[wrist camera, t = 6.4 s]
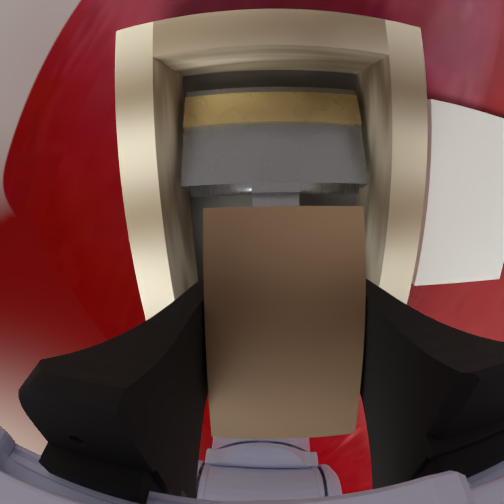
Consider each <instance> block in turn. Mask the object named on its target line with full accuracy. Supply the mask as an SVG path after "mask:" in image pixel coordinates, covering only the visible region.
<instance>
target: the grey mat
mask: <svg viewBox="0 0 504 504" xmlns="http://www.w3.org/2000/svg"><path fill="white" fill-rule="evenodd" d="M427 114H428V140H427V167H426V183H425V195H424V205H423V214H422V223H421V230H420V237H419V244H418V250H417V256H416V262H415V268H414V273H413V278H412V283H413V285H414V286H418V285H433V284H447V283H459V282H471V281H482V280H493V279H499V278H500V274H501V271H502V267H503V263H504V118H501V117H497V116H494V115H491V114H488V113H485V112H481V111H478V110H474V109H471V108H467V107H463V106H459V105H455V104H451V103H447V102H443V101H438V100H434V99H427Z"/></svg>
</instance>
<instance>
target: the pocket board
mask: <svg viewBox="0 0 504 504" xmlns="http://www.w3.org/2000/svg"><path fill="white" fill-rule="evenodd" d="M246 87H316V88H334V89H347V90H355V95H357V99H358V105H359V111H360V117H361V123H362V125H361V131H362V138H363V146H364V153H365V162H366V171H367V181H368V184H367V185H366V186H365V187H363V188H359V193H358V195H334V194H299V205H300V206H364V223H365V251H366V279H368V280H369V281H371V282H373V283H374V284H376V285H377V286H379V287H380V288H382V289H383V290H385V291H386V292H388V293H389V294H391V295H392V296H394V297H395V298H397V299H398V300H400V301H401V302H403V303H405V304H406V305H407V301H408V297H409V292H410V288H411V283H412V278H413V273H414V268H415V262H416V256H417V250H418V244H419V237H420V230H421V223H422V214H423V205H424V195H425V183H426V167H427V140H428V114H427V87H426V73H425V61H424V52H423V43H422V36H421V29H420V28H419V27H415V26H412V25H408V24H403V23H399V22H395V21H390V20H385V19H380V18H375V17H369V16H363V15H356V14H349V13H341V12H331V11H320V10H305V9H245V10H230V11H218V12H209V13H201V14H194V15H187V16H181V17H175V18H169V19H164V20H159V21H154V22H150V23H145V24H141V25H137V26H133V27H129V28H125V29H122V30H118V31H116V48H115V103H116V126H117V142H118V154H119V165H120V175H121V184H122V193H123V201H124V208H125V215H126V222H127V228H128V235H129V241H130V246H131V252H132V257H133V263H134V268H135V273H136V278H137V283H138V287H139V292H140V296H141V301H142V305H143V309H144V314H145V318H146V321H147V320H148V319H150V318H151V317H153V316H154V315H156V314H157V313H158V312H160V311H161V310H162V309H164V308H165V307H167V306H168V305H169V304H171V303H172V302H173V301H174V300H176V299H177V298H178V297H179V296H181V295H182V294H183V293H184V292H185V291H187V290H188V289H189V288H190V287H191V286H193V285H194V284H195V283H196V282H198V281H199V280H200V279H204V276H203V208H219V207H252V195H235V196H209V197H191V194H190V191H185V190H184V189H183V188H182V187H181V170H182V150H183V134H184V127H183V120H184V108H185V97H186V96H187V92H194V91H204V90H215V89H228V88H246Z"/></svg>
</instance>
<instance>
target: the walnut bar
mask: <svg viewBox="0 0 504 504" xmlns="http://www.w3.org/2000/svg"><path fill="white" fill-rule="evenodd" d="M203 276H204V314H205V340H206V361H207V379H208V394H209V409H210V422H211V434H212V437H217V438H236V439H289V438H309V437H322V436H333V435H343V434H351V433H355V427H356V420H357V413H358V404H359V396H360V386H361V376H362V364H363V350H364V333H365V305H366V251H365V223H364V206H255V207H219V208H203Z"/></svg>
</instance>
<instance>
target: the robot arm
mask: <svg viewBox="0 0 504 504" xmlns="http://www.w3.org/2000/svg"><path fill="white" fill-rule="evenodd" d="M207 394H208V379H207V361H206V340H205V314H204V279H200V280H199V281H198V282H196V283H195V284H194V285H193V286H191V287H190V288H189V289H188V290H187V291H185V292H184V293H183V294H182V295H181V296H179V297H178V298H177V299H176V300H174V301H173V302H172V303H171V304H169V305H168V306H167V307H165V308H164V309H162V310H161V311H160V312H158V313H157V314H156V315H154V316H153V317H151V318H150V319H148V320H147V321H145V322H143V323H142V324H140V325H138V326H136V327H135V328H133V329H131V330H129V331H127V332H125V333H123V334H121V335H119V336H116V337H114V338H112V339H110V340H108V341H105V342H103V343H101V344H98V345H95V346H92V347H89V348H86V349H83V350H80V351H77V352H73V353H70V354H65V355H61V356H56V357H52V358H47V359H42V360H40V361H39V363H38V364H37V366H36V367H35V368H34V370H33V371H32V372H31V374H30V375H29V376H28V378H27V379H26V380H25V382H24V383H23V385H22V386H21V388H20V389H19V400H20V403H21V405H22V407H23V409H24V411H25V412H26V414H27V415H28V417H29V418H30V420H31V421H32V422H33V423H34V425H35V426H36V427H37V429H38V430H39V431H40V432H41V433H42V435H43V436H44V437H45V439H46V440H47V441H48V444H47V446H46V448H45V449H44V451H43V453H42V455H41V456H40V455H38V454H36V453H34V452H32V451H30V450H27V449H25V448H23V447H22V446H20V445H18V444H16V443H15V441H14V440H13V439H12V437H11V436H10V435H9V434H8V433H7V432H6V431H5V430H4V429H3V428H2V427H1V426H0V504H504V342H500V341H495V340H491V339H487V338H483V337H479V336H476V335H472V334H469V333H466V332H463V331H460V330H458V329H455V328H452V327H450V326H447V325H445V324H443V323H440V322H438V321H436V320H434V319H432V318H430V317H428V316H426V315H424V314H422V313H420V312H418V311H417V310H415V309H413V308H411V307H410V306H408V305H406V304H405V303H403V302H401V301H400V300H398V299H397V298H395V297H394V296H392V295H391V294H389V293H388V292H386V291H385V290H383V289H382V288H380V287H379V286H377V285H376V284H374V283H373V282H371V281H369V280H368V279H366V305H365V333H364V350H363V364H362V376H361V386H360V394H361V398H362V402H363V407H364V412H365V418H366V423H367V430H368V437H369V444H370V454H371V465H372V482H373V489H372V490H367V491H362V492H356V493H349V494H343V495H342V490H341V485H340V481H339V478H338V476H337V474H336V473H335V472H334V471H333V470H332V469H331V468H330V467H329V466H328V465H326V464H322V465H318V458H317V453H316V452H310V445H309V438H289V439H236V438H217V437H214V439H213V446H212V449H207V453H206V459H205V462H204V461H199V460H198V458H199V449H200V439H201V431H202V423H203V416H204V408H205V403H206V398H207Z"/></svg>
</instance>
